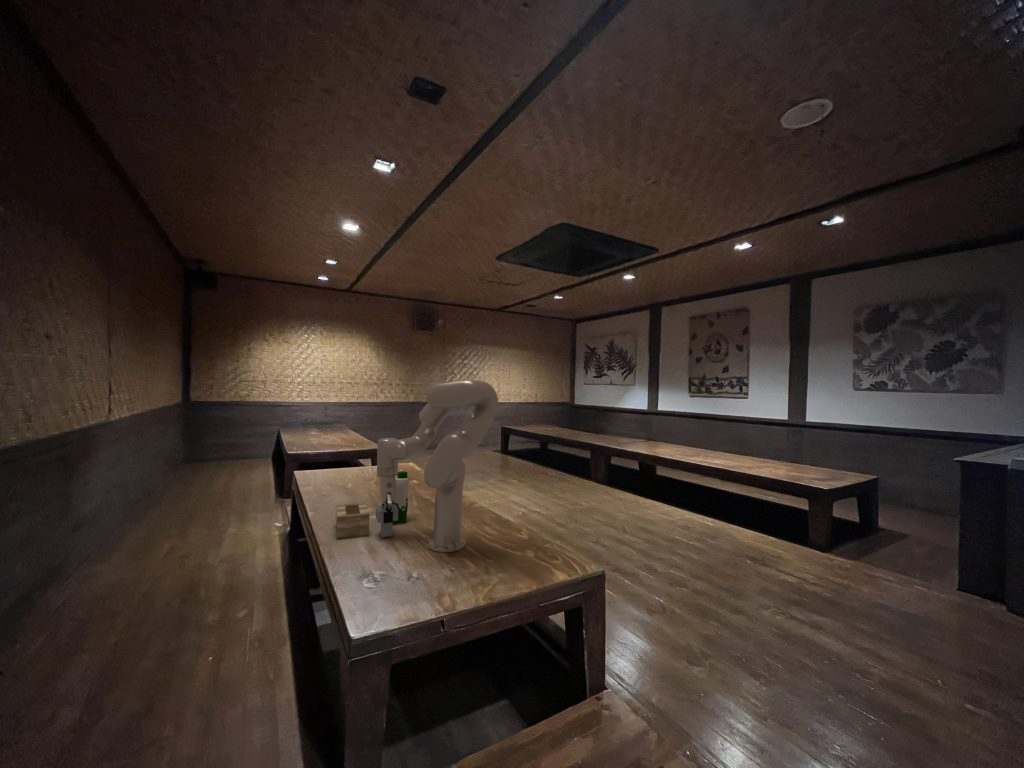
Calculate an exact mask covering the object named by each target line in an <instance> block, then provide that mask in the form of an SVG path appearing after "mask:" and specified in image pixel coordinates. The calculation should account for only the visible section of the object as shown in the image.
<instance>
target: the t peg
mask: <svg viewBox="0 0 1024 768" xmlns="http://www.w3.org/2000/svg"><path fill="white" fill-rule="evenodd" d="M387 506H388V505H386V507H387ZM384 512H385V511H384V506H382V505H378V506H375V519H376V522H377V523H378V524H380V536H381V538H388V537H393V524H392V523H384ZM397 520H398V508H397V506H396V505H395V504H394V505H393V521H397Z"/></svg>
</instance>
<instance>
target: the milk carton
mask: <svg viewBox="0 0 1024 768" xmlns="http://www.w3.org/2000/svg"><path fill="white" fill-rule="evenodd" d="M408 473H409V472H408V471H405V470H404V471H398V475H397V476H395V477H396V503H395V505H396V506H397V508H398V520H397V521H393V522H392V525H399V524H406V523H407V516H408V507H409V505H408V503H409V477H408ZM392 505H394V503H393V501H392Z"/></svg>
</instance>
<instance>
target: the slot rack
mask: <svg viewBox="0 0 1024 768" xmlns="http://www.w3.org/2000/svg"><path fill="white" fill-rule="evenodd" d="M335 519H336V520H335V521H336V522H335V527H336V528H335V529H336V531H335V532H336V533H335V535H336V540H338V541H339V540H346V539H354V538H362V537H370V536H369V533H370V512H369V509H368V505H367V502H356V503H345V504H336V518H335Z"/></svg>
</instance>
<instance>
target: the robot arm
mask: <svg viewBox="0 0 1024 768" xmlns="http://www.w3.org/2000/svg"><path fill="white" fill-rule="evenodd" d="M425 397H426V404H425V406H424V407H422V410H421V411H420V412H419V414H418V418H419V421H420V422H421V423H420V425H419V427H418V429H417V430H416V431H415V433H414V434H413V435H412V436H411V437H405V438H401V439H397V438H395V437H382V438H379V439H378V440H377V444H376V445H377V446H376V447H377V448H376V449H377V452H376V454H377V455H376V477H378V478H379V497H380V498H379V499H380V502H381V506H384V511H385V512H384V523H392V522H393V505H392V501H393V503H394V504H395V503H396V477H395V476H397V475H398V472H399V461H405V460H409V459H412V458H415V457H418V456H420V455H421V454H423V453H424V452H425V450H427V449H428V447H429V446H430V445H431V444H432V442H433V441H434V439H435V437H436V435H437V433H438V430H439V427H440V426H441V425H442V424H443V423H444V421H445V420H446V419H447V418H448V416H449V415H450V414H451V413H452V411H453V410H455V408H462V407H473V408H472V410H471V411H470V412H469V414H468V415H467V416H466V417H465V419H464V421H463V423H462V424H461V425H460V427H459V428H458V430H457V431H453V432H449V433H447V434H446V435H445V436H444V437H443V438H442V439H441V440H440V441H439V443H438V444H437V447H436V448H435V449H434V451H433V453H432V455H431V457H430V458H429V460H428V461H427V463H426V465H425V467H424V471H423V478H424V481H425V484H426V485H427V486H428V487H430V488H432V489H435V497H434V514H433V515H434V521H433V539H432V538H431V540H430V541H429V542H428V547H429V548H430V549H431V550H432V551H434V552H438V553H453V552H457V551H461V550H462V549H464V548H465V547H466V540H465V539H464V538H462V519H463V516H462V514H463V513H462V512H463V493H464V491H463V490H464V483H465V476H466V466H465V462H464V461H463V460H465V459H467V458H469V457H471V456H473V454H474V453H475V452H476V451H477V448H478V447H479V445H480V443H481V442H482V441H483V438H484V437H485V435H486V433H487V431H488V430H489V428H490V426H491V425H492V423H493V421H494V419H495V417H496V415H497V412H498V410H499V396H498V394H497V391H496V390H495V388H494V387H493V386H492V385H491V384H490V383H488V382H487V381H482V380H469V379H468V380H459V381H452V382H443V383H435V384H433V385H432V386H430V387H429V388H428V390H427V392H426V396H425ZM386 505H388V506H387V507H386Z"/></svg>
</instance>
